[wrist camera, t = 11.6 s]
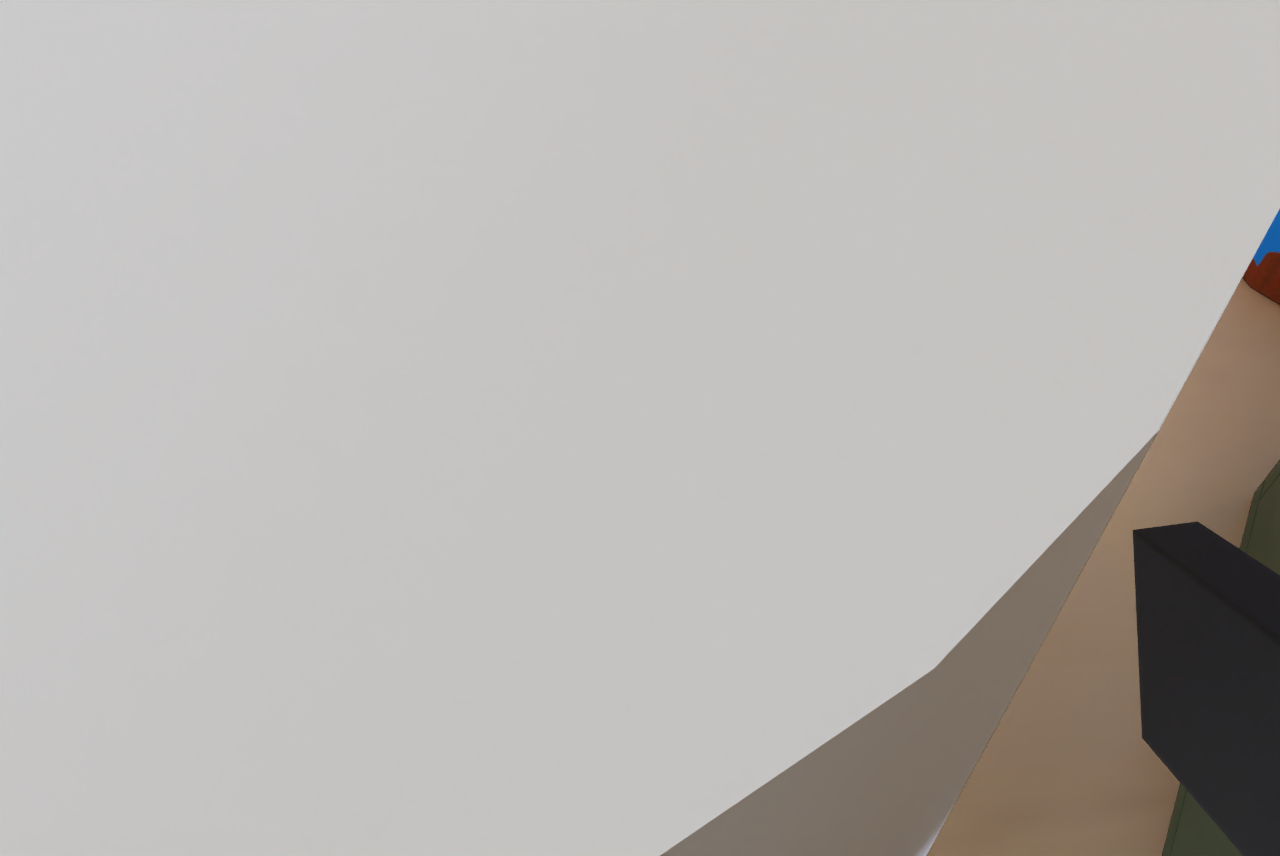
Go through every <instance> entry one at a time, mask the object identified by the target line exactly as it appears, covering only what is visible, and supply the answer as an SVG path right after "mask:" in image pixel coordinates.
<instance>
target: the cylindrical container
mask: <svg viewBox="0 0 1280 856" xmlns="http://www.w3.org/2000/svg"><path fill="white" fill-rule="evenodd" d="M1279 209H1280V0H0V856H926V855H927V854H928V852H929V850H930V848H931V846H932V844H933V843H934V841H935V839H936V837H937V835H938V833H939V832H940V830H941V828H942V826H943V824H944V822H945V821H946V819H947V817H948V815H949V813H950V812H951V810H952V808H953V806H954V804H955V802H956V801H957V799H958V797H959V795H960V793H961V791H962V790H963V788H964V786H965V784H966V782H967V780H968V779H969V777H970V775H971V773H972V771H973V769H974V768H975V766H976V764H977V762H978V760H979V758H980V757H981V755H982V753H983V751H984V749H985V747H986V746H987V744H988V742H989V740H990V738H991V736H992V735H993V733H994V731H995V729H996V727H997V726H998V724H999V722H1000V720H1001V718H1002V716H1003V715H1004V713H1005V711H1006V709H1007V707H1008V705H1009V704H1010V702H1011V700H1012V698H1013V696H1014V694H1015V693H1016V691H1017V689H1018V687H1019V685H1020V683H1021V682H1022V680H1023V678H1024V676H1025V674H1026V672H1027V671H1028V669H1029V667H1030V665H1031V663H1032V661H1033V660H1034V658H1035V656H1036V654H1037V652H1038V651H1039V649H1040V647H1041V645H1042V643H1043V641H1044V640H1045V638H1046V636H1047V634H1048V632H1049V630H1050V629H1051V627H1052V625H1053V623H1054V621H1055V619H1056V618H1057V616H1058V614H1059V612H1060V610H1061V608H1062V607H1063V605H1064V603H1065V601H1066V599H1067V597H1068V596H1069V594H1070V592H1071V590H1072V588H1073V586H1074V585H1075V583H1076V581H1077V579H1078V577H1079V576H1080V574H1081V572H1082V570H1083V568H1084V566H1085V565H1086V563H1087V561H1088V559H1089V557H1090V555H1091V554H1092V552H1093V550H1094V548H1095V546H1096V544H1097V543H1098V541H1099V539H1100V537H1101V535H1102V533H1103V532H1104V530H1105V528H1106V526H1107V524H1108V522H1109V521H1110V519H1111V517H1112V515H1113V513H1114V511H1115V510H1116V508H1117V506H1118V504H1119V502H1120V500H1121V499H1122V497H1123V495H1124V493H1125V491H1126V490H1127V488H1128V486H1129V484H1130V482H1131V480H1132V479H1133V477H1134V475H1135V473H1136V471H1137V469H1138V468H1139V466H1140V464H1141V462H1142V460H1143V458H1144V457H1145V455H1146V453H1147V451H1148V449H1149V447H1150V446H1151V444H1152V442H1153V440H1154V438H1155V436H1156V435H1157V433H1158V431H1159V429H1160V427H1161V425H1162V424H1163V422H1164V420H1165V418H1166V416H1167V414H1168V413H1169V411H1170V409H1171V407H1172V405H1173V403H1174V402H1175V400H1176V398H1177V396H1178V394H1179V392H1180V391H1181V389H1182V387H1183V385H1184V383H1185V381H1186V380H1187V378H1188V376H1189V374H1190V372H1191V370H1192V369H1193V367H1194V365H1195V363H1196V361H1197V359H1198V358H1199V356H1200V354H1201V352H1202V350H1203V348H1204V347H1205V345H1206V343H1207V341H1208V339H1209V337H1210V336H1211V334H1212V332H1213V330H1214V328H1215V326H1216V325H1217V323H1218V321H1219V319H1220V317H1221V315H1222V314H1223V312H1224V310H1225V308H1226V306H1227V304H1228V303H1229V301H1230V299H1231V297H1232V295H1233V293H1234V292H1235V290H1236V288H1237V286H1238V284H1239V282H1240V281H1241V279H1242V277H1243V275H1244V273H1245V271H1246V270H1247V268H1248V266H1249V264H1250V262H1251V260H1252V259H1253V257H1254V255H1255V253H1256V251H1257V249H1258V248H1259V246H1260V244H1261V242H1262V240H1263V238H1264V236H1265V235H1266V233H1267V231H1268V229H1269V227H1270V225H1271V224H1272V222H1273V220H1274V218H1275V216H1276V214H1277V213H1278V211H1279Z"/></svg>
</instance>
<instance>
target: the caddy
mask: <svg viewBox="0 0 1280 856" xmlns="http://www.w3.org/2000/svg"><path fill="white" fill-rule="evenodd" d="M1240 550H1242V551H1243V552H1245V553H1246V554H1248V555H1249V556H1251V557H1252V558H1254V559H1255V560H1257V561H1258V562H1260V563H1261V564H1263V565H1265V566H1266V567H1268V568H1269V569H1271V570H1272V571H1274V572H1275V573H1277V574H1278V575H1280V460H1279V461H1278V462H1277V464H1276V465H1275V466H1274V468H1273V469H1272V470H1271V472H1270V473H1269V474H1268V476H1267V477H1266V478H1265V480H1264V481H1263V482H1262V484H1261V485H1260V486H1259V487H1258V489H1257V490H1256V491H1255V493H1254V496H1253V500H1252V504H1251V508H1250V511H1249V515H1248V519H1247V523H1246V527H1245V531H1244V535H1243V539H1242V543H1241V547H1240ZM1162 856H1243V855H1242V854H1241V853H1240V851H1239V850H1238V849H1237V848H1236V847H1235V846H1234V844H1233V843H1232V842H1231V841H1230V840H1229V839H1228V837H1227V836H1226V835H1225V834H1224V833H1223V832H1222V830H1221V829H1220V828H1219V827H1218V826H1217V825H1216V823H1215V822H1214V821H1213V820H1212V819H1211V818H1210V816H1209V815H1208V814H1207V813H1206V812H1205V811H1204V809H1203V808H1202V807H1201V806H1200V805H1199V804H1198V802H1197V801H1196V800H1195V799H1194V798H1193V797H1192V795H1191V794H1190V793H1189V792H1188V791H1187V790H1186V788H1185V787H1184V786H1183V785H1182V784H1181V783H1180V787H1179V791H1178V795H1177V799H1176V803H1175V807H1174V811H1173V815H1172V819H1171V822H1170V826H1169V830H1168V834H1167V838H1166V842H1165V846H1164V850H1163V854H1162Z"/></svg>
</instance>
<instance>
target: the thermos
mask: <svg viewBox="0 0 1280 856" xmlns="http://www.w3.org/2000/svg"><path fill="white" fill-rule="evenodd" d="M1242 278H1243V279H1244V280H1245V281H1246V282H1247V283H1248V284H1249V285H1250V286H1251V287H1252V288H1253V289H1255V290H1257V291H1258V292H1260V293H1262V294H1263V295H1265V296H1267V297H1268V298H1270V299H1272V300H1274V301H1275V302H1277V303H1279V304H1280V209H1279V211H1278V213H1277V214H1276V216H1275V218H1274V220H1273V222H1272V224H1271V225H1270V227H1269V229H1268V231H1267V233H1266V235H1265V236H1264V238H1263V240H1262V242H1261V244H1260V246H1259V248H1258V249H1257V251H1256V253H1255V255H1254V257H1253V259H1252V260H1251V262H1250V264H1249V266H1248V268H1247V270H1246V271H1245V273H1244V275H1243V277H1242Z"/></svg>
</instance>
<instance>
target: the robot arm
mask: <svg viewBox="0 0 1280 856" xmlns="http://www.w3.org/2000/svg"><path fill="white" fill-rule="evenodd" d="M1133 544H1134V566H1135V588H1136V610H1137V632H1138V654H1139V676H1140V698H1141V720H1142V738H1143V739H1144V741H1145V742H1146V743H1147V744H1148V745H1149V746H1150V748H1151V749H1152V750H1153V751H1154V752H1155V753H1156V755H1157V756H1158V757H1159V758H1160V759H1161V760H1162V762H1163V763H1164V764H1165V765H1166V766H1167V767H1168V769H1169V770H1170V771H1171V772H1172V773H1173V774H1174V776H1175V777H1176V778H1177V779H1178V780H1179V781H1180V783H1181V784H1182V785H1183V786H1184V787H1185V788H1186V790H1187V791H1188V792H1189V793H1190V794H1191V795H1192V797H1193V798H1194V799H1195V800H1196V801H1197V802H1198V804H1199V805H1200V806H1201V807H1202V808H1203V809H1204V811H1205V812H1206V813H1207V814H1208V815H1209V816H1210V818H1211V819H1212V820H1213V821H1214V822H1215V823H1216V825H1217V826H1218V827H1219V828H1220V829H1221V830H1222V832H1223V833H1224V834H1225V835H1226V836H1227V837H1228V839H1229V840H1230V841H1231V842H1232V843H1233V844H1234V846H1235V847H1236V848H1237V849H1238V850H1239V851H1240V853H1241V854H1242V855H1243V856H1280V575H1278V574H1277V573H1275V572H1274V571H1272V570H1271V569H1269V568H1268V567H1266V566H1265V565H1263V564H1261V563H1260V562H1258V561H1257V560H1255V559H1254V558H1252V557H1251V556H1249V555H1248V554H1246V553H1245V552H1243V551H1242V550H1240V549H1239V548H1237V547H1236V546H1234V545H1232V544H1231V543H1229V542H1228V541H1226V540H1225V539H1223V538H1222V537H1220V536H1219V535H1217V534H1216V533H1214V532H1213V531H1211V530H1210V529H1208V528H1206V527H1205V526H1203V525H1202V524H1200V523H1199V522H1191V523H1183V524H1176V525H1168V526H1161V527H1153V528H1145V529H1138V530H1133Z"/></svg>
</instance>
